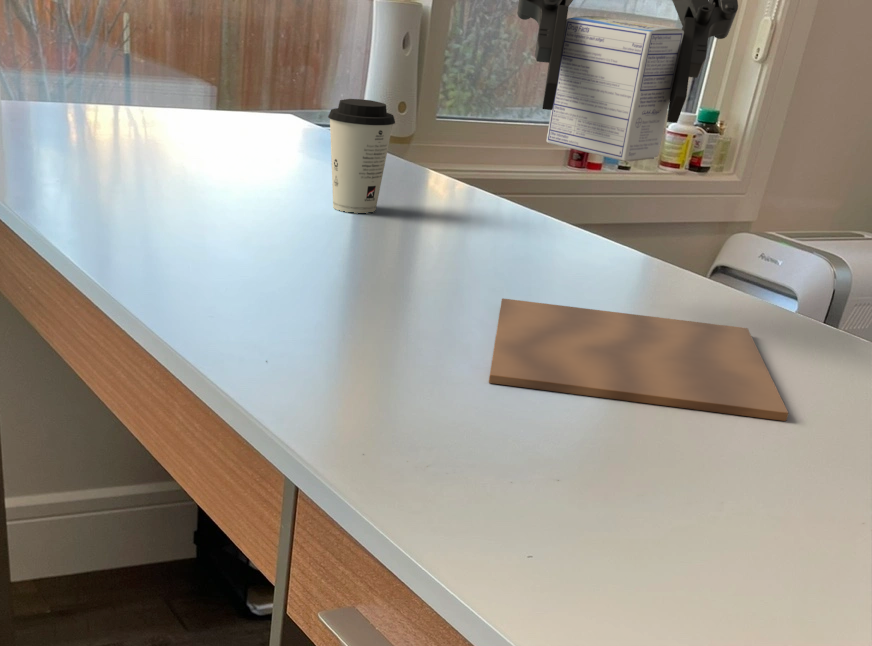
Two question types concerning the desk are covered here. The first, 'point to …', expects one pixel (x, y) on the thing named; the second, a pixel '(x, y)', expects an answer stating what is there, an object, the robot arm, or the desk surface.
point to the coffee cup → (358, 153)
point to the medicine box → (614, 87)
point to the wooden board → (633, 359)
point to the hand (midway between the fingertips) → (612, 103)
